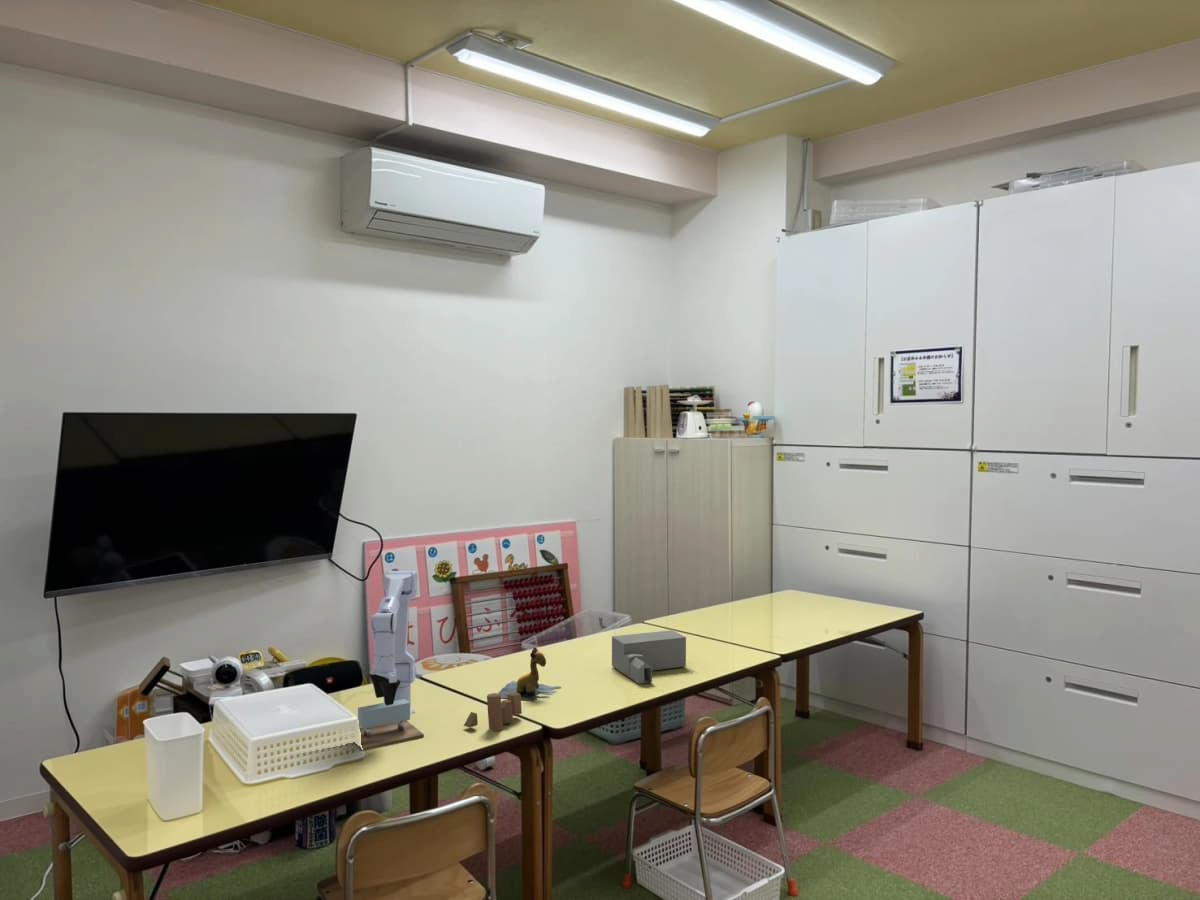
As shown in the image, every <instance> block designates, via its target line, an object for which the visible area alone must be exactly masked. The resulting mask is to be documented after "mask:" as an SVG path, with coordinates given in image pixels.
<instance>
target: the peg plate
mask: <svg viewBox="0 0 1200 900" xmlns="http://www.w3.org/2000/svg"><path fill="white" fill-rule="evenodd" d="M359 728H360V732H361V745H362V748H363V749H364V750H363V751H367V750H371V749H375V748H381V747H385V746H390V745H389V744H391V745H395V744H398V743H399V742H400V743H403V742H404V743H405V742H408V741H412V740H413V739H414V740H418V739H422V738H424V736H425V734H424V733H423V732H421V731H420V730H419V729H418V728H416V727H415V726H414V724H412V723H410V722H409V720H406V721H401V722H396V723H391V724H386V725H381V726H376V727H371V728H366V729H362V728H361V727H359ZM394 743H395V744H394ZM400 743H399V744H400Z"/></svg>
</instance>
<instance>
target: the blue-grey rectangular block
mask: <svg viewBox="0 0 1200 900" xmlns="http://www.w3.org/2000/svg"><path fill="white" fill-rule="evenodd" d="M358 720H359V725H358V726H359V728H362V729H366V728H371V727H376V726H381V725H386V724H391V723H396V722H401V721H406V720H407V721H410V720H411V714H410V702H408V701H407V700H406V699H401V700H396V701H394V703H393V705H387V706H386V705H385V703H384V702H381V703H375V704H371V705H365V706H360V707H357V721H358Z"/></svg>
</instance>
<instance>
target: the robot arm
mask: <svg viewBox="0 0 1200 900" xmlns="http://www.w3.org/2000/svg"><path fill="white" fill-rule="evenodd" d="M382 588H383V589H384V591H385V596H384V597H382V598H381V600H380V602H379V606H378V609H377V612H376V613H374V614H372V616H371V621H370V629H371V633H372V635H371V636H372V640H373V663H372V669H371V670H370V671H369V673H368V676H369V678H370V680H371V683H372V686H373V689H374V693H375V697H376V698H377V699H379V698H383V703H385V705H386V706H387V705H393V703H394V701H396V700H401V699H406V700H407V701H408V702H410V713H412V714H415V713H416V711H415V709H413V708H412V704H411V703H412V702H411V701H412V698H411V693H412V692H411V689H412V688H411V684H413V683H414V682H415V681H416V675H417V672H416V671H417V670H416V669H417V667H416V659H415V657H414V656H413V655H411V653H410V652H408V638H409V637H408V634H409V616H410V603H411V601H412V599H413V598H416V596H417V592H418V573H417V571H416V570H414V569H413V570H385V571H384V573H383V577H382Z"/></svg>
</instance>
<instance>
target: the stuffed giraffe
mask: <svg viewBox="0 0 1200 900" xmlns="http://www.w3.org/2000/svg"><path fill="white" fill-rule="evenodd" d="M529 657H530V666H529V667H530V672H528V673H526V674H524V675H522V676H520V677H518V679H517V681H515V680H514V681H513V680H512V681H511V682H508V683H507V684H506V685H505V686H504V687H502V688H501V689H500V690H499V691H498V694H500V695H501V699H507V695H508V694H511V693H514V692H515V693H519V694H521V701H523V700H525V701H531V702H536V701H537V700H538V699H549V698H550V696H553V695H554V694H556V693H557V692H558V691H557V690H560V689H562V686H559V685H558V686H557V685H556V686H551V685H546V684H543V683H539V680H540V676H539V671H538V668H537V667H538V666H537V665H539V666H541V667H543V668H544V667H546V664H547V659H546V657H545V655H544V653H543V652H542V651H540V650H539V648H537V647H535V646H534V647H533V649H531V652H530V656H529ZM539 695H541V696H539Z"/></svg>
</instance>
